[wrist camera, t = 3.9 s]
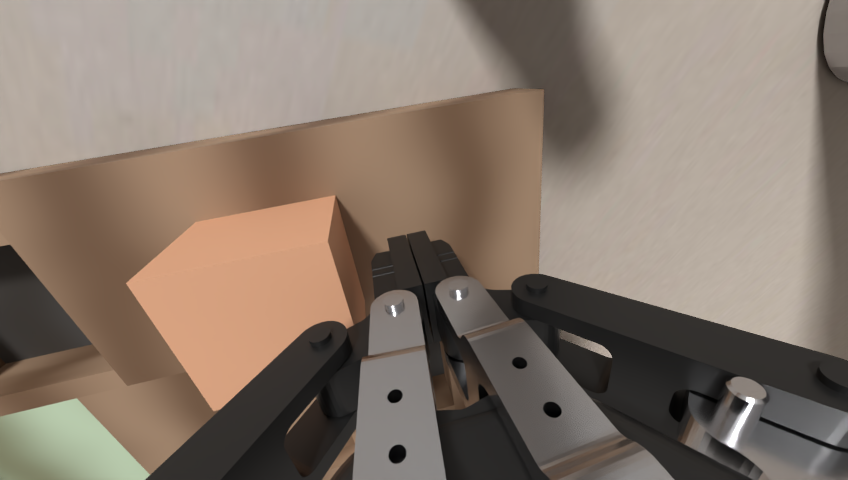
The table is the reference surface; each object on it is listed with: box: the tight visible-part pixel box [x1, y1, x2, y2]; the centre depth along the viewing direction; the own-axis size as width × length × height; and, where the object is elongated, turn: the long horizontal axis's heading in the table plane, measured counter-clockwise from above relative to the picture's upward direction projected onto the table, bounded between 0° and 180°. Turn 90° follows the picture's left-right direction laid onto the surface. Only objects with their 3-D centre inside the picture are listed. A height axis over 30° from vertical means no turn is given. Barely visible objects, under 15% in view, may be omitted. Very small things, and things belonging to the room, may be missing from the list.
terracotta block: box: [126, 195, 366, 411], centre depth 11 cm, size 5×5×4 cm
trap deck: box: [0, 88, 544, 480], centre depth 14 cm, size 28×18×5 cm, turn 98°
